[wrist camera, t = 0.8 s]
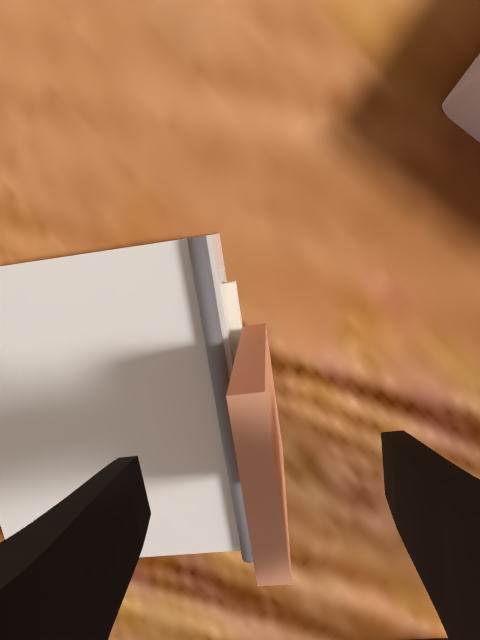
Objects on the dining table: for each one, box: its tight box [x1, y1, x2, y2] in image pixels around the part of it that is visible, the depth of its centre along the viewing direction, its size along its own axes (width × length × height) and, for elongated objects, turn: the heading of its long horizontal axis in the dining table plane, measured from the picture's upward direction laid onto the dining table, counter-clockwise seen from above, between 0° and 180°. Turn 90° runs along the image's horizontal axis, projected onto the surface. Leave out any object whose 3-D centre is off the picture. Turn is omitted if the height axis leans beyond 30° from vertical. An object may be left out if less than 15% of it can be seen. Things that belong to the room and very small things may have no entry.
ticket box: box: [0, 234, 253, 563], centre depth 17 cm, size 12×14×3 cm
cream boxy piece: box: [222, 281, 292, 586], centre depth 15 cm, size 12×10×7 cm
